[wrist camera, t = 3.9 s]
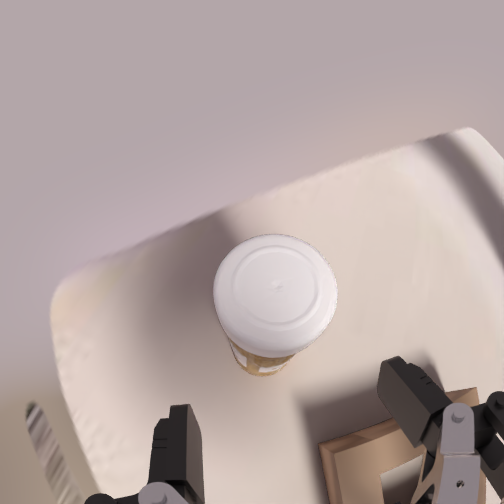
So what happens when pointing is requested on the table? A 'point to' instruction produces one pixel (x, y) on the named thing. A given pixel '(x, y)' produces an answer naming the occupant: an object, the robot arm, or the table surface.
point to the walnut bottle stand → (376, 458)
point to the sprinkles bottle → (273, 300)
